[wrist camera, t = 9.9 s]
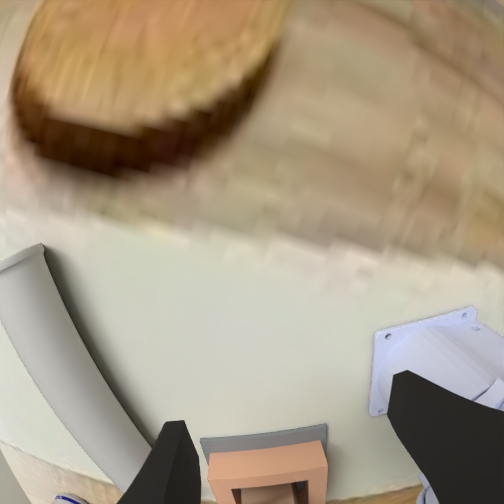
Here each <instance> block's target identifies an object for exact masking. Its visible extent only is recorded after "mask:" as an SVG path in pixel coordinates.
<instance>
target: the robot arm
mask: <svg viewBox="0 0 504 504" xmlns="http://www.w3.org/2000/svg"><path fill="white" fill-rule="evenodd" d="M463 314H464V315H463ZM462 315H463V317H462ZM476 316H477V308H476V307H474V306H470V307H467V308H463V309H460V310H457V311H453V312H450V313H446V314H442V315H439V316H435V317H431V318H428V319H424V320H420V321H416V322H412V323H408V324H404V325H400V326H395V327H391V328H387V329H382V330H379V331H377V332H376V333H375V335H374V342H373V361H372V375H371V388H370V398H369V408H368V413H369V415H370V416H371V417H375V416H378V415H382V414H386V413H387V416H388V418H389V420H390V422H391V424H392V427H393V429H394V431H395V432H396V434H397V436H398V438H399V439H400V441H401V442H402V444H403V445H404V447H405V448H406V450H407V451H408V452H409V454H410V455H411V457H412V458H413V460H414V461H415V463H416V464H417V465H418V467H419V468H420V470H421V471H422V472H421V473H420V474H419V475H418V477H419V479H420V481H421V483H422V484H423V486H424V489H423V490H422V491H421V492H420V494H419V495H418V497H417V500H416V504H504V337H503V336H501V335H500V334H498V333H497V332H495V331H494V330H492V329H491V328H489V327H488V326H486V325H485V324H483V323H482V322H480V321H479V320H477V319H476ZM387 334H389V336H388V337H387V338H385V336H386V335H387ZM380 409H381V410H380ZM200 502H201V476H200V465H199V456H198V454H197V451H196V449H195V447H194V444H193V442H192V439H191V437H190V434H189V432H188V429H187V427H186V424H185V422H184V420H180V421H168V422H165V424H164V425H163V427H162V429H161V431H160V434H159V436H158V438H157V440H156V442H155V444H154V446H153V447H152V449H151V451H150V453H149V455H148V457H147V458H146V460H145V462H144V464H143V465H142V467H141V469H140V471H139V472H138V474H137V475H136V477H135V478H134V480H133V481H132V483H131V484H130V486H129V487H128V489H127V490H126V492H125V493H124V495H123V496H122V497H121V499H120V500H119V501H118V502H117V504H200Z"/></svg>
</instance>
